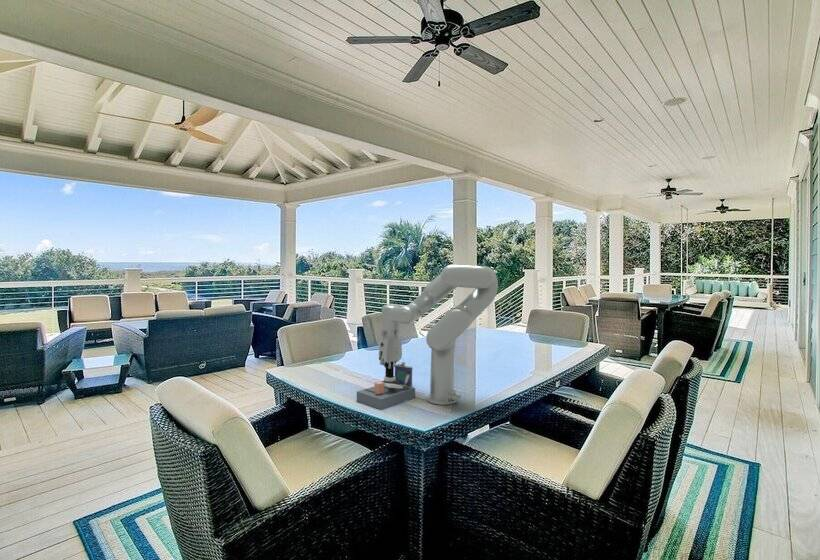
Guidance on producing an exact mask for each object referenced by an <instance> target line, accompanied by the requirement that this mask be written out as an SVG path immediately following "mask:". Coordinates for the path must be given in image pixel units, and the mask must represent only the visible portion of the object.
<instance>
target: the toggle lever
mask: <svg viewBox="0 0 820 560" xmlns="http://www.w3.org/2000/svg"><path fill="white" fill-rule="evenodd" d="M406 372H407V375H406V378H405V382H404V387H406V385H407V382H408V378H409V375H410V374H411V373H412V374H413V370H412V371H411V369H408V370H407V371H406Z"/></svg>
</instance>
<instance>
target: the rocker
mask: <svg viewBox="0 0 820 560" xmlns="http://www.w3.org/2000/svg"><path fill="white" fill-rule="evenodd" d="M384 386H386V387H390V388H402V389H403V386H401V385H397V384H389V383H384Z"/></svg>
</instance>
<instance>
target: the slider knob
mask: <svg viewBox="0 0 820 560" xmlns="http://www.w3.org/2000/svg"><path fill="white" fill-rule="evenodd" d="M374 386H375V393H376V394H382V393H384V382H381V381H378V382H374Z"/></svg>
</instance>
